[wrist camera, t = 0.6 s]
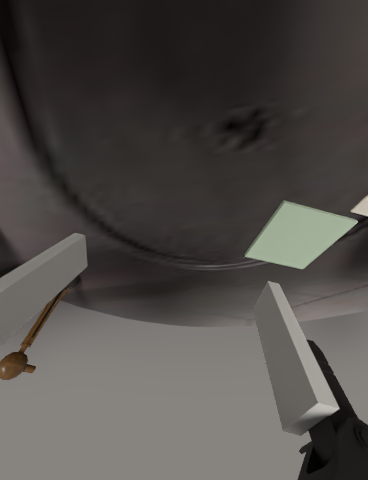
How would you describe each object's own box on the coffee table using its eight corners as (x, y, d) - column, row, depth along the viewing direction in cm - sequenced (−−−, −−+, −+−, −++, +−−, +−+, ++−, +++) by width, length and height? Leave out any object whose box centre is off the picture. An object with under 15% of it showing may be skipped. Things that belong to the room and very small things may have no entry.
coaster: (283, 200, 26) (284, 202, 25) (355, 219, 27) (358, 221, 26) (244, 254, 34) (244, 256, 33) (301, 266, 35) (302, 269, 35)
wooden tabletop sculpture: (87, 281, 44) (32, 384, 30) (75, 285, 46) (17, 384, 32) (67, 267, 41) (-6, 376, 26) (54, 272, 43) (-21, 376, 28)
